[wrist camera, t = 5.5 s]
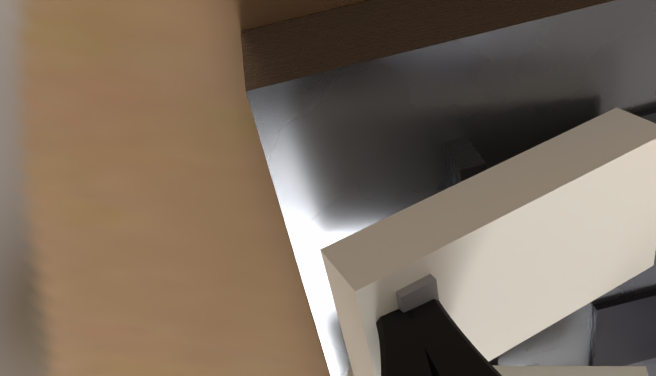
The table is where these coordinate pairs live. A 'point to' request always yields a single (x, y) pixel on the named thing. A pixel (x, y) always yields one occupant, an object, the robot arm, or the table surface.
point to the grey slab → (445, 130)
